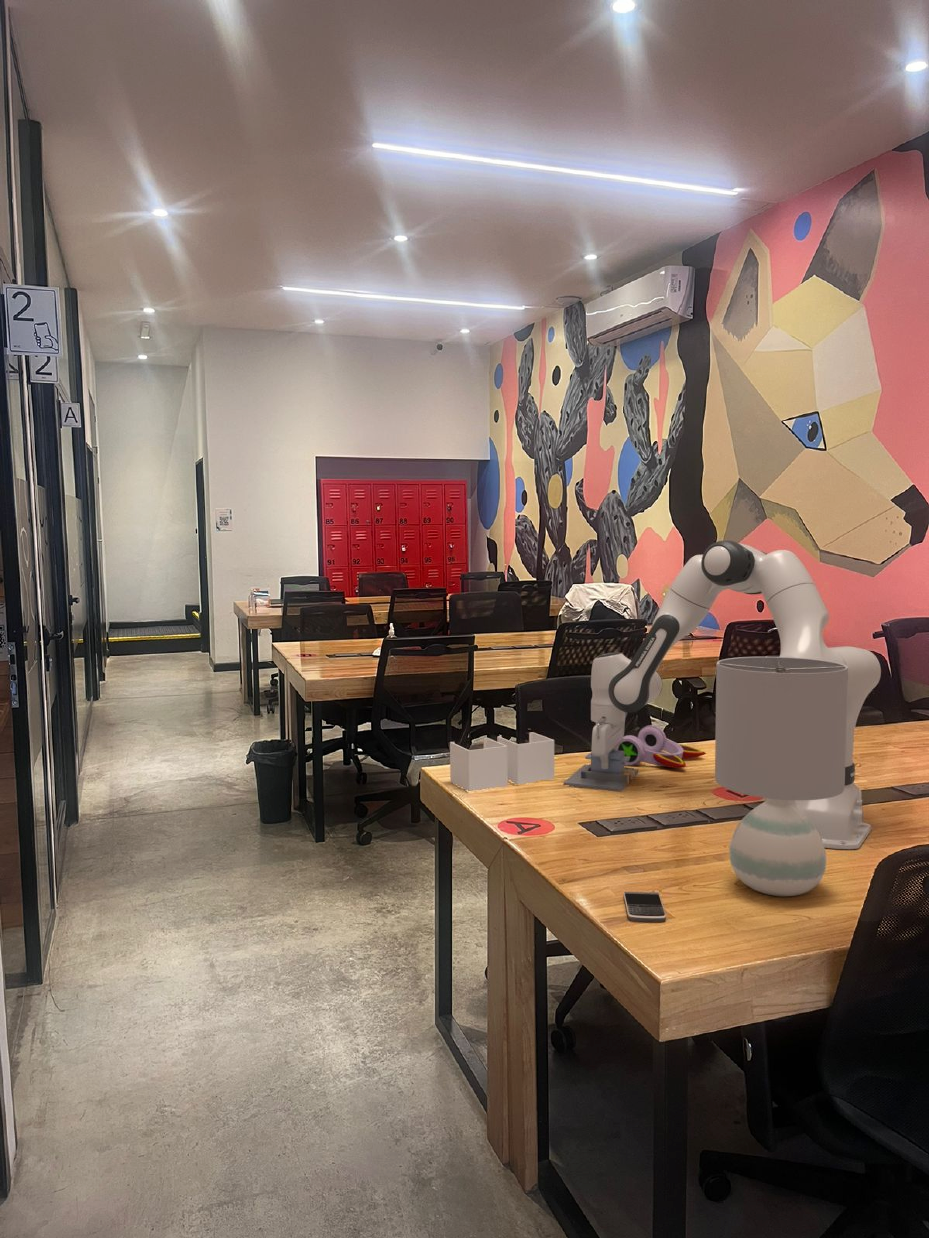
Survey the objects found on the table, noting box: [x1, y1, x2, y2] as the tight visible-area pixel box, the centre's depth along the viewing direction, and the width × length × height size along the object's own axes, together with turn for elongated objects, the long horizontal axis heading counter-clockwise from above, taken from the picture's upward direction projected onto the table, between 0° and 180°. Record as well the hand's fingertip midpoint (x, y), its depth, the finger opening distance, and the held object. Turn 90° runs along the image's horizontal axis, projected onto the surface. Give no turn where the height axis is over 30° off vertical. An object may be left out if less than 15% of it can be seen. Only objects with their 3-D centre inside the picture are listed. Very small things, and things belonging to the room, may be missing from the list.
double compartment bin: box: [449, 731, 555, 791], centre depth 229 cm, size 25×11×11 cm, turn 116°
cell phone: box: [623, 891, 667, 923], centre depth 149 cm, size 6×11×1 cm, turn 175°
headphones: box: [616, 724, 707, 769], centre depth 249 cm, size 20×10×20 cm
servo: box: [585, 750, 635, 776], centre depth 230 cm, size 4×12×7 cm, turn 67°
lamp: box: [714, 656, 848, 897], centre depth 155 cm, size 22×22×40 cm
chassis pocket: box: [563, 763, 640, 792], centre depth 231 cm, size 20×15×2 cm
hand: (607, 766), depth 230 cm, fingers closed on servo, 4 cm apart
